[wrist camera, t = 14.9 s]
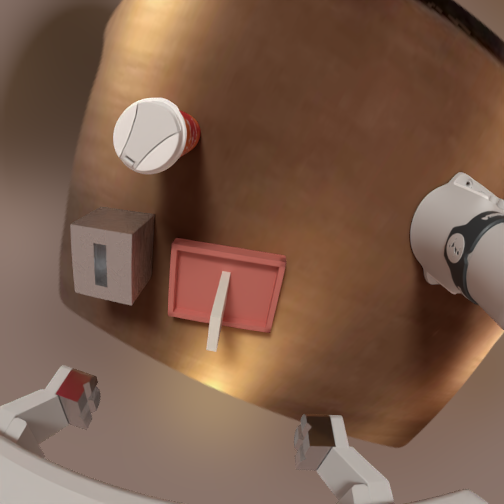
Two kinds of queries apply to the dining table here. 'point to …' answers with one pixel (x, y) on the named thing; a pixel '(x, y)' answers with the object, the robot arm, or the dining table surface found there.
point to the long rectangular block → (218, 312)
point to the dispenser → (112, 253)
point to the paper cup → (154, 135)
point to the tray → (240, 284)
